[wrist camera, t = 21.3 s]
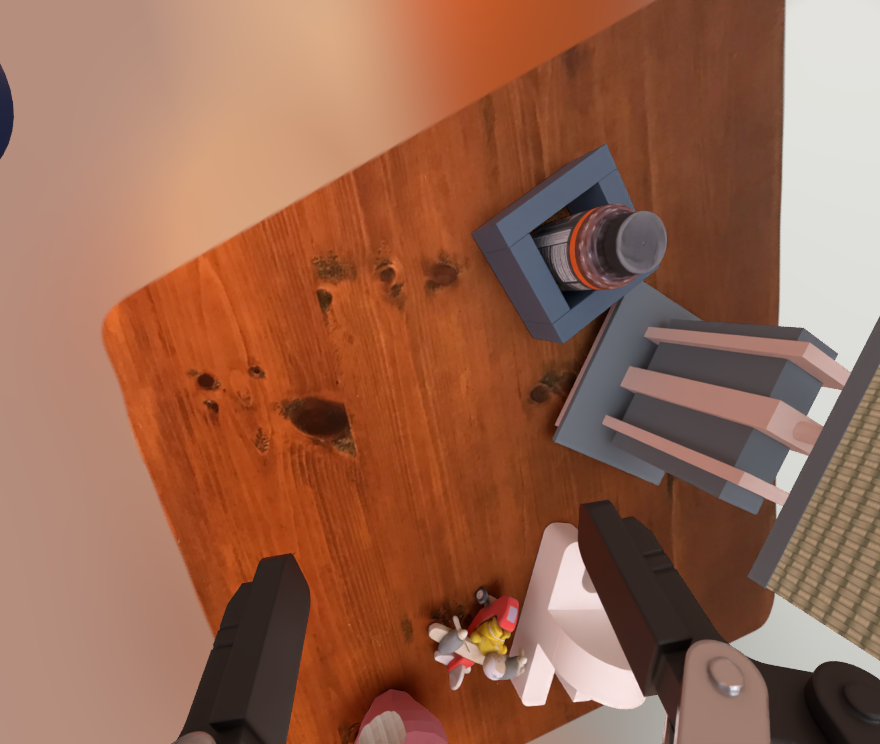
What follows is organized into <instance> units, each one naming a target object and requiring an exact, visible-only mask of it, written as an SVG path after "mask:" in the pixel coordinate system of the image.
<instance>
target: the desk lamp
mask: <svg viewBox="0 0 880 744" xmlns="http://www.w3.org/2000/svg"><path fill="white" fill-rule="evenodd" d="M837 355H838V354H837V353H836V352H835V351H834V350H832V349H831V348H829V347H828V346H827V345H825V344H824V343H823V342H821V341H820V340H819V339H817V338H816V337H815V336H814V335H812V334H811V333H810V332H808V331H807V330H805V329H804V328H796V327H781V326H767V325H752V324H737V323H723V322H708V321H702V320H701V319H699V318H698V317H696V316H695V315H693V314H692V313H690V312H689V311H687V310H686V309H684V308H683V307H681V306H680V305H678V304H677V303H675V302H674V301H672V300H670V299H669V298H667V297H666V296H664V295H663V294H661V293H660V292H658V291H657V290H655V289H654V288H652V287H651V286H649V285H648V284H646V283H645V282H643V281H642V282H641V283H639V284H638V285H637V286H635V287H634V288H633V289H632V290H630V291H629V292H628V293H627V294H625V295H624V296H623V297H622V298H620V299H619V300H618V301H617V302H615V303H614V304H613V305H612V306H611V308H610V310H609V312H608V314H607V316H606V318H605V321H604V323H603V325H602V327H601V329H600V331H599V333H598V335H597V337H596V339H595V342H594V344H593V346H592V348H591V350H590V352H589V354H588V356H587V358H586V360H585V363H584V365H583V367H582V369H581V371H580V373H579V375H578V377H577V379H576V381H575V383H574V386H573V388H572V390H571V392H570V394H569V396H568V398H567V400H566V402H565V404H564V407H563V409H562V411H561V413H560V415H559V417H558V419H557V421H556V423H555V425H556V426H558V428H557V430H556V432H555V434H554V436H553V438H552V440H553V441H554V442H556V443H559V444H561V445H563V446H566V447H568V448H571V449H573V450H575V451H578V452H580V453H582V454H585V455H587V456H590V457H592V458H594V459H597V460H599V461H601V462H604V463H606V464H609V465H611V466H613V467H616V468H618V469H620V470H623V471H625V472H627V473H630V474H632V475H635V476H637V477H639V478H642V479H644V480H646V481H649V482H651V483H654V484H656V485H658V486H659V484H660V482H661V480H662V478H663V476H664V474H665V472H667V473H669V474H671V475H673V476H675V477H677V478H679V479H681V480H683V481H685V482H687V483H689V484H691V485H693V486H695V487H697V488H699V489H701V490H703V491H705V492H707V493H709V494H711V495H713V496H715V497H717V498H719V499H721V500H724V501H726V502H728V503H730V504H733V505H735V506H737V507H740V508H742V509H744V510H746V511H749V512H751V513H753V514H756V515H757V513H758V511H759V509H760V507H761V505H762V503H763V501H764V499H765V498H766V499H768V500H771V501H773V502H775V503H777V504H779V505H782V506H783V508H782V510H781V512H780V514H779V515H778V518H777V519H776V521H775V523H774V525H773V527H772V529H771V531H770V533H769V535H768V537H767V539H766V541H765V543H764V545H763V547H762V549H761V551H760V553H759V555H758V557H757V559H756V561H755V563H754V565H753V567H752V569H751V571H750V573H749V575H748V576H747V577H748V578H750V579H752V580H753V581H755V582H756V583H758V584H759V585H761V586H762V587H764V588H766V589H769V590H771V591H773V592H774V593H776V594H778V595H779V596H781V597H783V598H784V599H785V600H787V601H788V602H790V603H791V604H793V605H795V606H796V607H798V608H799V609H801V610H803V611H804V612H805V613H807V614H809V615H810V616H812V617H813V618H815V619H816V620H818V621H819V622H821V623H823V624H824V625H826V626H827V627H829V628H830V629H832V630H833V631H835V632H836V633H838V634H840V635H841V636H843V637H844V638H846V639H847V640H849V641H850V642H852V643H854V644H855V645H857V646H858V647H860V648H861V649H863V650H864V651H866V652H867V653H869V654H870V655H872V656H874V657H875V658H877V659H878V660H880V317H879V319H878V321H877V323H876V325H875V327H874V329H873V331H872V333H871V334H870V336H869V338H868V340H867V342H866V345H865V346H864V348H863V350H862V352H861V354H860V356H859V358H858V360H857V362H856V364H855V366H854V368H853V370H852V372H849V371H848V370H847V369H845V368H844V367H843V366H841V365H840V364H839V363H837V362H836V361H835V359H836V357H837ZM821 386H823V387H828V388H834V389H839V390H842V392H841V394H840V395H839V397H838V399H837V402H836V403H835V406H834V408H833V409H832V411H831V413H830V415H829V417H828V419H827V421H826V423H825V425H824V426H822V425H820V424H818V423H817V422H815V421H813V420H812V419H810V418H809V417H807V414H808V412H809V410H810V408H811V406H812V404H813V402H814V400H815V398H816V396H817V394H818V392H819V390H820V388H821ZM789 450H792V451H796V452H799V453H802V454H805V455H808V456H809V457H808V459H807V460H806V462H805V464H804V466H803V468H802V471H801V472H800V474H799V476H798V478H797V480H796V482H795V484H794V486H793V488H792V490H791V492H790V494H789V493H787V492H785V491H783V490H781V489H779V488H777V487H775V486H773V485H772V483H773V481H774V479H775V477H776V475H777V473H778V471H779V469H780V467H781V465H782V463H783V461H784V460H785V458H786V455H787V454H788V452H789Z"/></svg>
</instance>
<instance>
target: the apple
mask: <svg viewBox="0 0 880 744" xmlns="http://www.w3.org/2000/svg"><path fill="white" fill-rule="evenodd" d="M354 744H448V741H447V737H446V733H445V731H444V728H443V726H442V724H441V722H440V721H439V720H438V719H437V718H436V717H435V716H434V715H433V714H432V713H431V712H430V711H428V710H427V709H426V708H425V707H423V706H422V705H421V704H419V703H418V702H417V701H415V700H414V699H413V698H412V697H411V696H410V695H409V694H408V693H406V692H404V691H397V690H393V689H390V690H388V691H386V692H384V693H382V694H381V695H379V696H377V697H376V698H375V699H374V701H373V703H372V705H371V707H370V709H369V710H368V712H367V713H366V714H365V717H364V719H363V721H362V724H361V727H360V730H359V733H358V736H357V738H356V740H355V742H354Z"/></svg>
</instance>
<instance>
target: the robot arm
mask: <svg viewBox="0 0 880 744" xmlns="http://www.w3.org/2000/svg"><path fill="white" fill-rule="evenodd" d="M578 546H579V551H580V555H581V558H582V560H583V563H584V565H585V567H586V570H587V572H588V574H589V576H590V579H591V581H592V583H593V585H594V587H595V590H596V592H597V594H598V596H599V599H600V601H601V603H602V605H603V608H604V610H605V612H606V614H607V616H608V619H609V621H610V623H611V625H612V628H613V630H614V632H615V634H616V636H617V639H618V641H619V643H620V645H621V648H622V650H623V652H624V654H625V657H626V659H627V661H628V663H629V665H630V668H631V670H632V672H633V674H634V677H635V679H636V681H637V683H638V686H639V688H640V690H641V692H642V694H643V697H647V696H653V695H658V696H659V698H660V700H661V702H662V704H663V706H664V708H665V710H666V717H665V725H664V734H663V742H662V744H880V680H879V679H878V678H877V677H875V676H873V675H872V674H870V673H869V672H867V671H865V670H863V669H861V668H859V667H856V666H854V665H851V664H848V663H844V662H838V661H830V662H825V663H823V664H821V665H819V666H818V667H817V668H816V669H815V671H814V672H807V671H802V670H796V669H790V668H785V667H780V666H774V665H769V664H765V663H761V662H758V661H755V660H753V659H751V658H749V657H747V656H745V655H744V654H743V653H741V652H740V651H739V650H737V649H735V648H734V647H732V646H731V645H730V644H728V643H727V642H726V641H725V640H724V639H723V638H722V637H721V636H720V634H719V633H718V632H717V630H716V629H715V628H714V626H713V625H712V623H711V622H710V620H709V619H708V617H707V616H706V614H705V613H704V611H703V610H702V608H701V606H700V605H699V603H698V602H697V600H696V599H695V597H694V596H693V594H692V593H691V591H690V590H689V588H688V587H687V585H686V584H685V582H684V581H683V579H682V578H681V576H680V575H679V573H678V571H677V570H676V569H674V566H673V564H672V562H671V561H670V559H669V558H668V556H667V555H666V554H665V553H664V551H663V549H662V547H661V546H660V544H659V543H658V541H657V540H656V538H655V536H654V535H653V533H652V532H651V531H650V530H649V529H648V528H646V527H645V526H644V525H643V524H641V523H640V522H639V521H638V520H637V519H635V518H634V517H629V518H623V519H621V517H620V516H619V514H618V512H617V511H616V509H615V507H614V506H613V504H612V503H611V502H610V501H609V500H603V501H597V502H591V503H585V504H581V505H580V508H579V524H578ZM309 611H310V590H309V586H308V584H307V582H306V580H305V577H304V575H303V573H302V571H301V569H300V567H299V565H298V563H297V561H296V559H295V557H294V556H293V554H291V553H289V554H283V555H278V556H272V557H266V558H263V559H261V561H260V562H259V564H258V567H257V570H256V573H255V576H254V579H253V582H247V583H242V585H241V586H240V587H239V589H238V590H237V592H236V593H235V595H234V596H233V597H232V599H231V600H230V602H229V603H228V605H227V608H226V610H225V613H224V616H223V619H222V622H221V624H220V631H218V633H217V636H216V639H215V641H214V644H213V646H214V648H213V650H211V653H210V656H209V658H208V661H207V664H206V667H205V670H204V672H203V675H202V678H201V681H200V684H199V686H198V690H197V692H196V695H195V698H194V700H193V704H192V706H191V709H190V712H189V715H188V717H187V720H186V723H185V725H184V727H183V730H182V731H181V734H180V735H179V737H178V739H177V740H176V741H175V742H173V743H172V744H286V740H287V735H288V729H289V723H290V718H291V712H292V706H293V701H294V695H295V690H296V684H297V678H298V673H299V667H300V661H301V656H302V650H303V644H304V639H305V633H306V627H307V622H308V616H309Z"/></svg>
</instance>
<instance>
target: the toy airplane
mask: <svg viewBox="0 0 880 744" xmlns="http://www.w3.org/2000/svg"><path fill="white" fill-rule="evenodd" d="M476 601H477V602H478V603H480V604H483V603H484V608H482V609H480V611H479V612H478V614H477V615H476V617H475V618H474V620H473V621H472V623H471V625H470V626H469V628H468V629H467V630H466V629H463V630H462V629H461V626H460V622H459V619H458V617H457V616H453V621H454V624H455V627H456V629H454V630H452V629H450V628H448V627H446V626H444V625H442V624H439V623H433V624H432V625H431V626H430V627H429V637H430V638H432V639H433V640H435V641H437V642H439V647H438V651H436V652H435V653H434V659H435V660H436V661H438V662H441V663H443V664H445V665H447V669H448V672H449V678H450V688H451V689H452V690H456V689H458V688H459V686H460V685H461V683H462V680H463V677H464V673H469V672H470V671H471V666H472V665H473V664H475V663H478V664H481V665H483V670H484V673H485V675H486V676H487V677H488V678H489V679H491V680H508V679H511V678H514V677H516V676H518V677H519V674H522V673H523V672H524V671H525V668H524V664H526V662H527V658H526V657H525V656H524V654H525V651H524V649H523V648H520V650H519V654H520V655H518V656H514V657H509V656H507V655H505V654H506V652H507V647H506V646H505V645H504V642H505V639H506V638H509V637H510V634H511V633H510V632H513V630H514V628H515V626H516V622H517V618H518V610H519V602H518V600H517V598H515V597H512V596H510V595H507V594H506V595H504V596H502V597H500V598H499V599H496V598H494V597H492V596H490V595H488V592H487V590H486V589H484V588H480V589H478V591H477V593H476Z"/></svg>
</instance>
